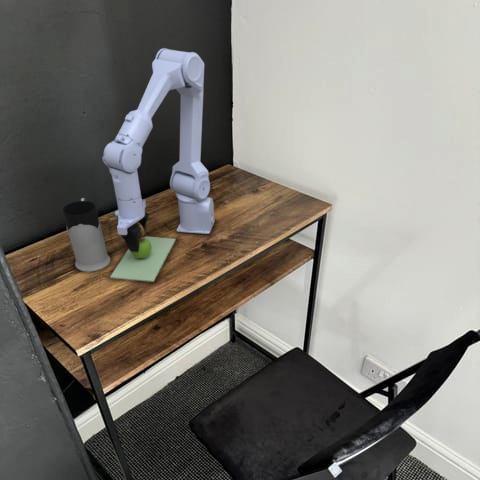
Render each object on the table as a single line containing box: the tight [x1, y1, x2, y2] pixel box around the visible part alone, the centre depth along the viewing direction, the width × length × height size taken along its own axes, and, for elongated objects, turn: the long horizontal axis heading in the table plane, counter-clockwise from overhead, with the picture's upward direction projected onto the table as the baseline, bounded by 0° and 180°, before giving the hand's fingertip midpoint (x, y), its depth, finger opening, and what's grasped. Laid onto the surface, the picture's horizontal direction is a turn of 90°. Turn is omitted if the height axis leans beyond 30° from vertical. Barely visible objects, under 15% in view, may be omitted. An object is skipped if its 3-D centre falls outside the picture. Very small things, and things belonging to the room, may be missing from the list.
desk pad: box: [109, 235, 177, 283], centre depth 119 cm, size 11×20×1 cm, turn 171°
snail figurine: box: [130, 222, 151, 258], centre depth 115 cm, size 5×6×12 cm
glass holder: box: [62, 197, 111, 272], centre depth 115 cm, size 9×14×15 cm, turn 11°
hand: (137, 246), depth 116 cm, fingers closed on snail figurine, 4 cm apart
